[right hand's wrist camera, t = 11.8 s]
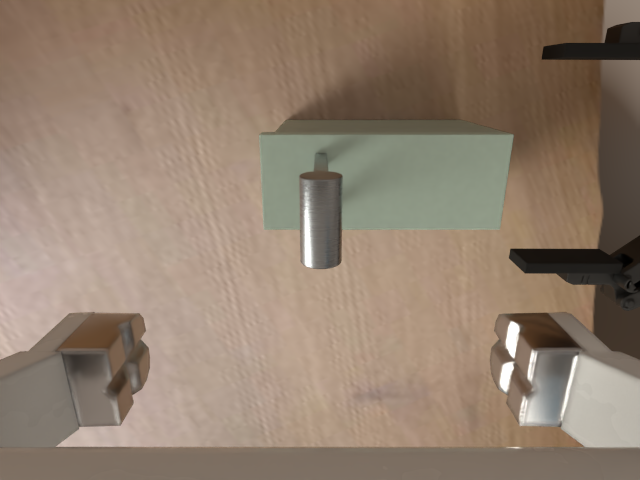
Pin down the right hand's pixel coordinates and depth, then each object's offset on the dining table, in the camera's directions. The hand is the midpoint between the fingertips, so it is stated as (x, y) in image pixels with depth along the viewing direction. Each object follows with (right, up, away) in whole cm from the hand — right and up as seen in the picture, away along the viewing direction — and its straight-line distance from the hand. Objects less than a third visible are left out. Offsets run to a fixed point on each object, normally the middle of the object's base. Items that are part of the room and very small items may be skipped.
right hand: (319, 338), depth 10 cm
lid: (+4, +6, +16) cm, 18 cm away
